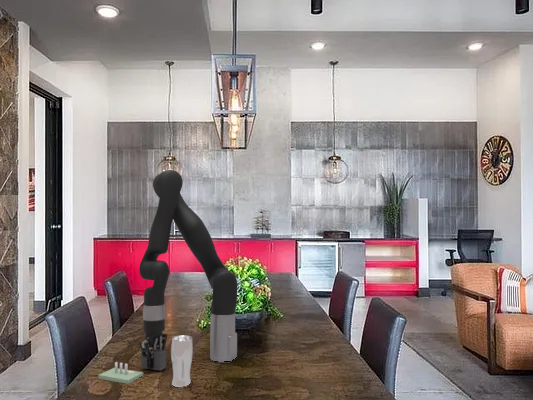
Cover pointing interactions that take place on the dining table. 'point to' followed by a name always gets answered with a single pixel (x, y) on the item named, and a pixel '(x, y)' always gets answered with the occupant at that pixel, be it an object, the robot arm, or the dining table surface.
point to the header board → (120, 374)
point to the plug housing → (155, 360)
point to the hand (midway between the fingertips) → (153, 366)
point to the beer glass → (181, 359)
